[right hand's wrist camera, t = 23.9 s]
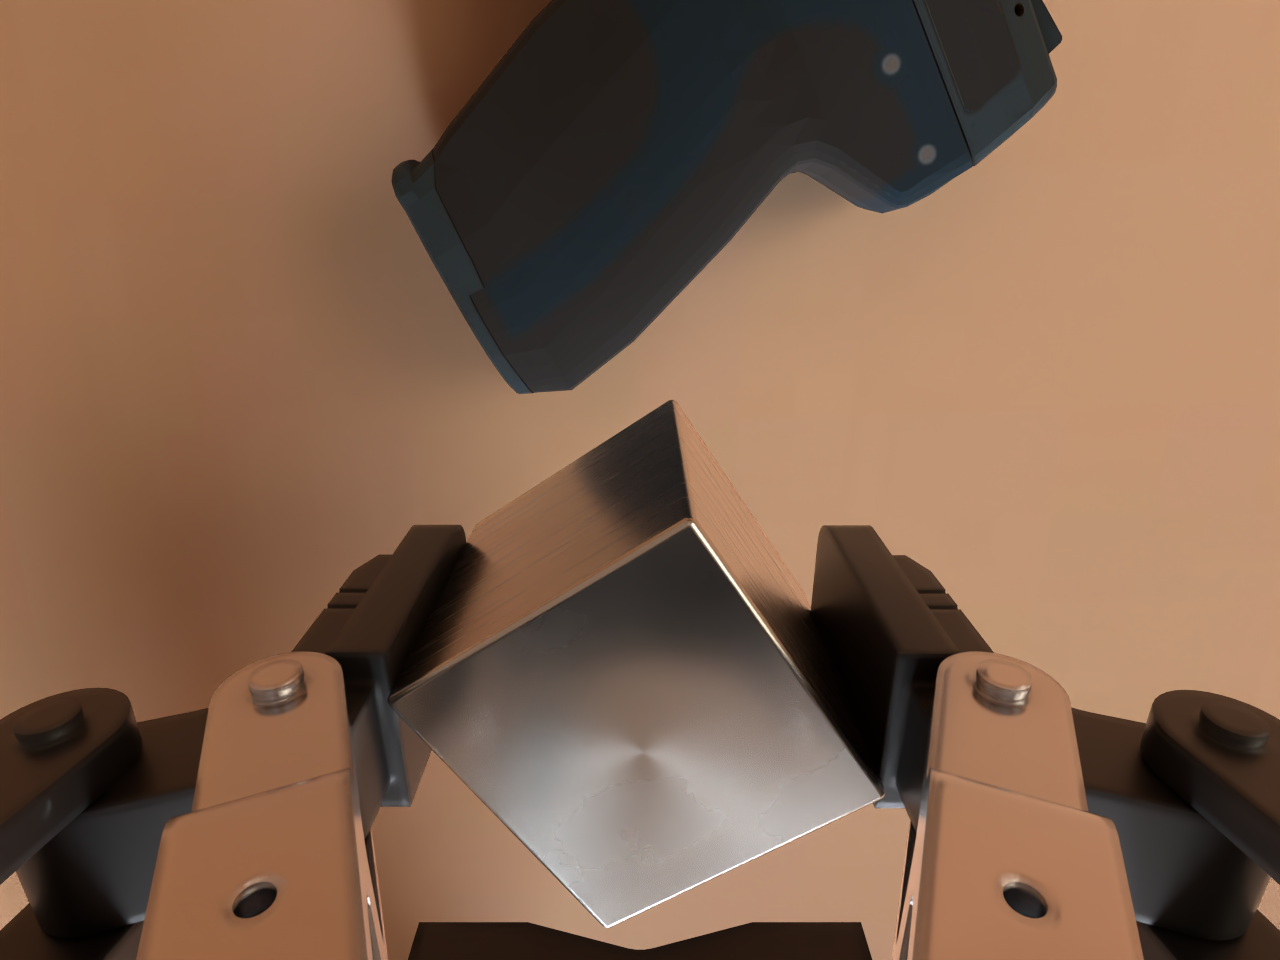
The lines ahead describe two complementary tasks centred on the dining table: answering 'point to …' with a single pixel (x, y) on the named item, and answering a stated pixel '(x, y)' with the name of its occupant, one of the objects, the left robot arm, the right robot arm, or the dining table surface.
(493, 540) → the block
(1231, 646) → the dining table surface
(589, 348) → the handgun
